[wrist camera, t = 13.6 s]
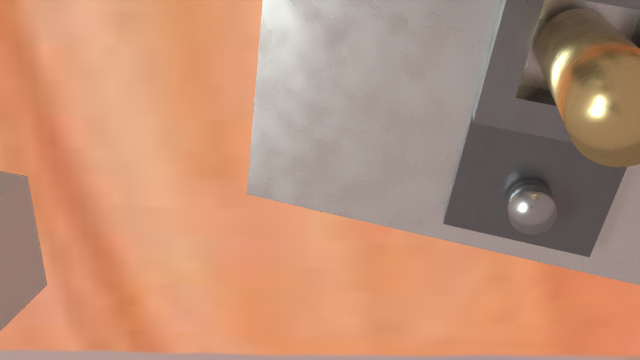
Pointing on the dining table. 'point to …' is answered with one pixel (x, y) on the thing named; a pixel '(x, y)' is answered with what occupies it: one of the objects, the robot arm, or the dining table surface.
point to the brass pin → (593, 84)
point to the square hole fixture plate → (438, 127)
